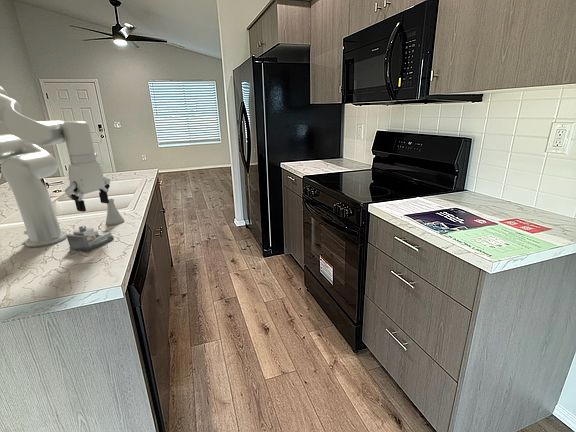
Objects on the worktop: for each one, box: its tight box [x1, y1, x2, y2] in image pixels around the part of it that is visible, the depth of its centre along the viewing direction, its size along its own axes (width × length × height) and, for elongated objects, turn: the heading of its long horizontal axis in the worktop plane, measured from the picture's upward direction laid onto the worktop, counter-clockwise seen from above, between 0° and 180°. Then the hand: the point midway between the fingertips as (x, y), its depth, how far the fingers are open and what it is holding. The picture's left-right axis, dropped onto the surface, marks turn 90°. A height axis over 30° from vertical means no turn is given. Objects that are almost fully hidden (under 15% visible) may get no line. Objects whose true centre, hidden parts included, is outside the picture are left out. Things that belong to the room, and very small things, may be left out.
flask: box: [105, 198, 125, 226], centre depth 130 cm, size 7×7×10 cm
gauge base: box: [66, 230, 115, 253], centre depth 109 cm, size 11×8×6 cm
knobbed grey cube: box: [72, 225, 96, 242], centre depth 107 cm, size 4×6×6 cm, turn 74°
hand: (93, 206), depth 111 cm, fingers open, 9 cm apart
